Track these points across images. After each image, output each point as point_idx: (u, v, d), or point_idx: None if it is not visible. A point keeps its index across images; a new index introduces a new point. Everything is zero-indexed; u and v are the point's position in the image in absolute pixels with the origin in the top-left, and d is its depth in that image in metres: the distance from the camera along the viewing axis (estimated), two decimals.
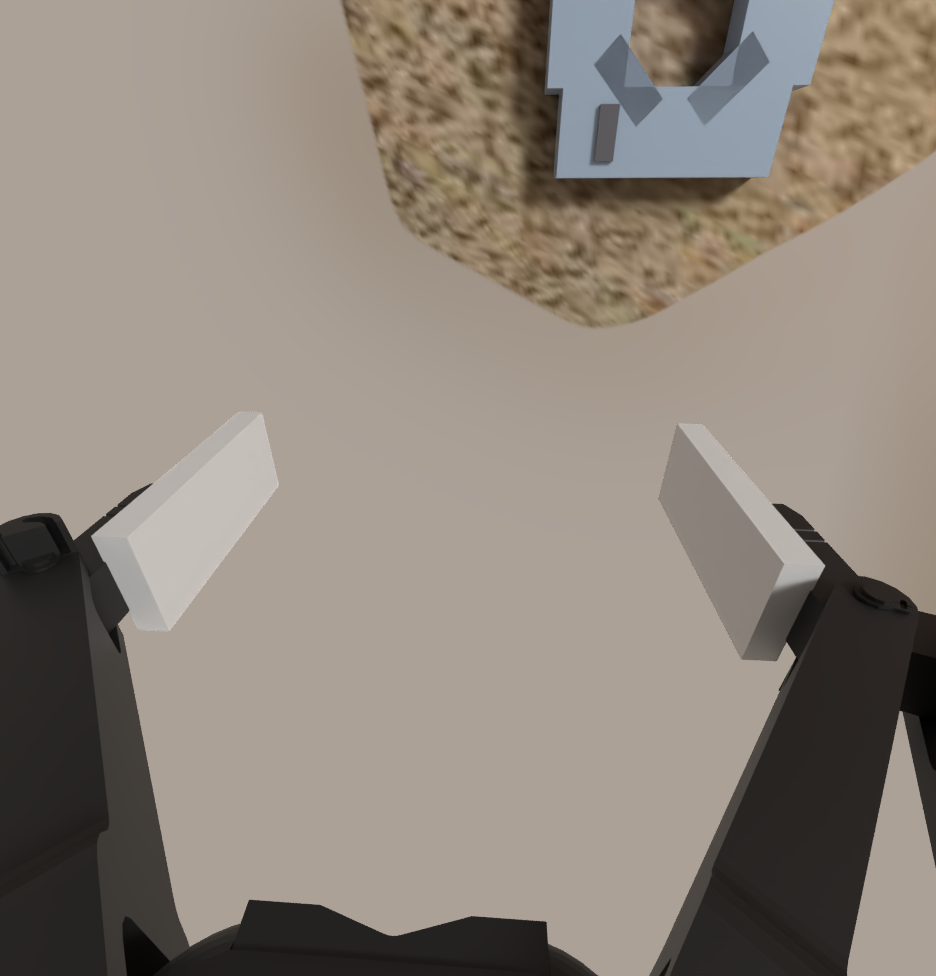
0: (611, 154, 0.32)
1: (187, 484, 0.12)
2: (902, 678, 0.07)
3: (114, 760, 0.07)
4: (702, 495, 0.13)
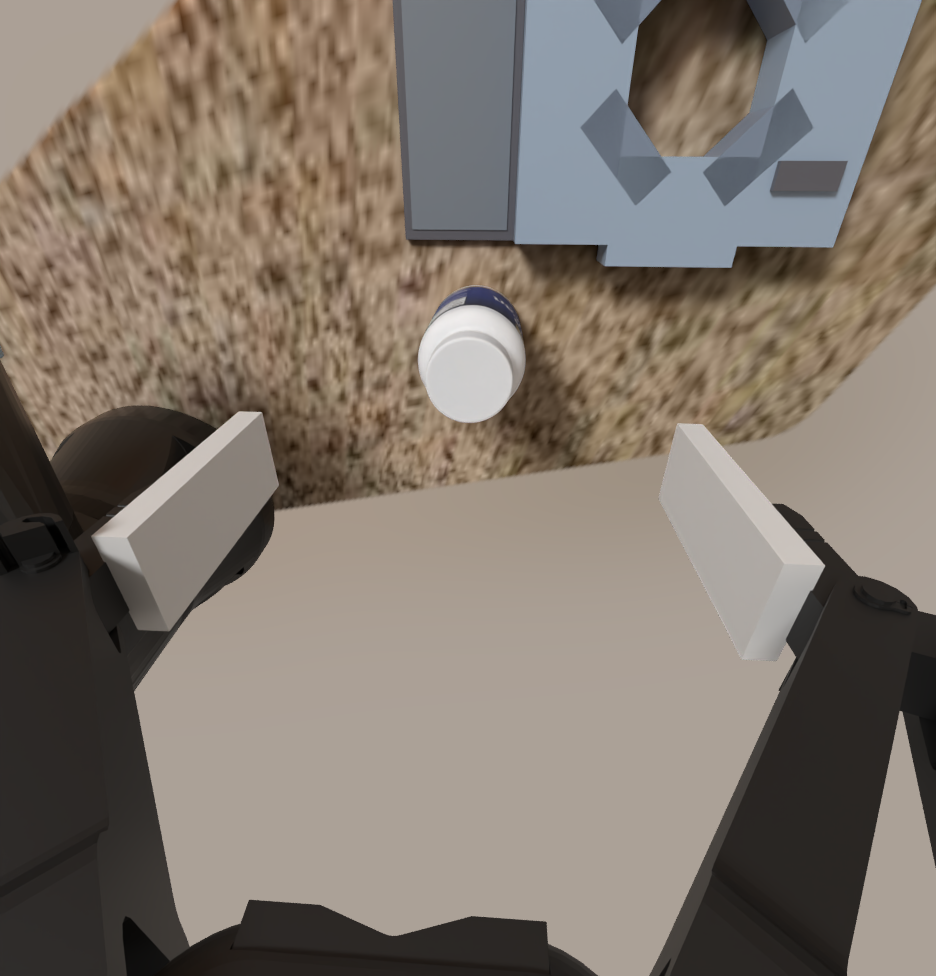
0: (838, 164, 0.22)
1: (187, 484, 0.12)
2: (902, 678, 0.07)
3: (114, 760, 0.07)
4: (702, 495, 0.13)
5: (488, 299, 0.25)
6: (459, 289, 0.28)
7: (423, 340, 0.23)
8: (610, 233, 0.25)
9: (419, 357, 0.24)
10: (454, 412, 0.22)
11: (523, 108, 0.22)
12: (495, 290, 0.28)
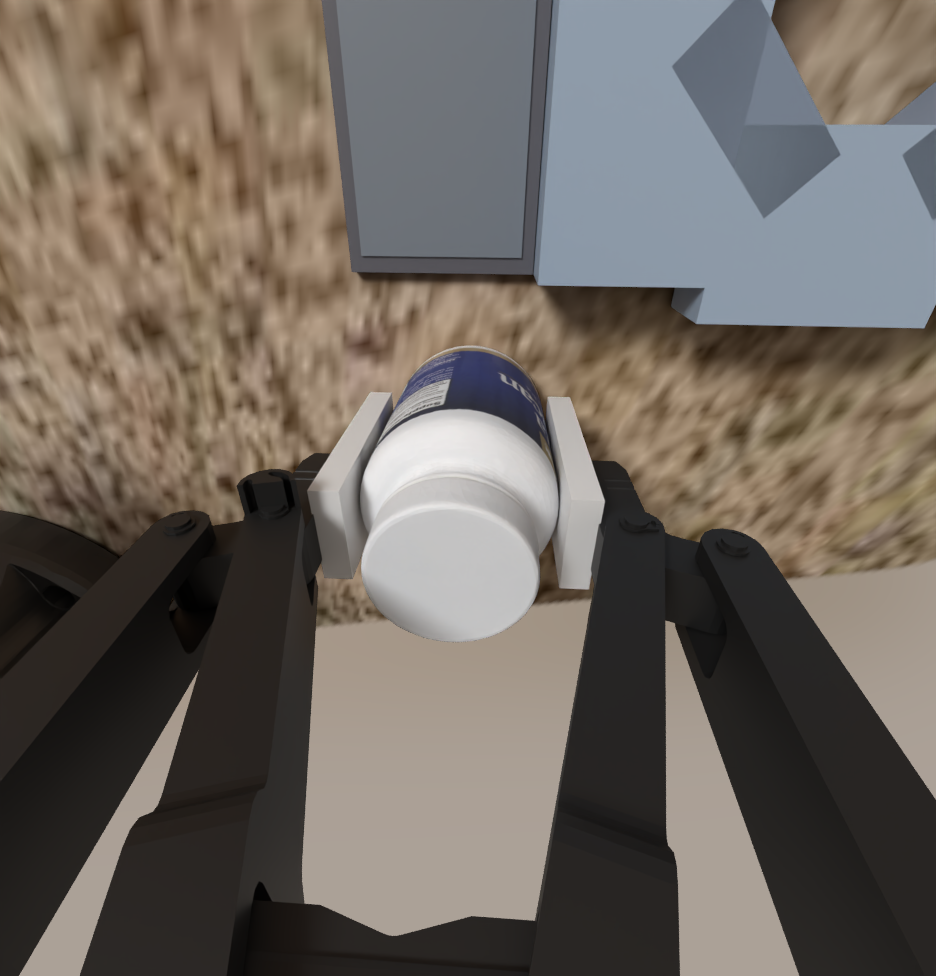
0: None
1: (361, 451, 0.13)
2: (662, 583, 0.09)
3: (285, 714, 0.07)
4: (552, 455, 0.15)
5: (490, 386, 0.14)
6: (442, 353, 0.17)
7: (367, 473, 0.12)
8: (712, 268, 0.14)
9: (361, 501, 0.13)
10: (423, 627, 0.11)
11: (560, 27, 0.11)
12: (502, 354, 0.17)
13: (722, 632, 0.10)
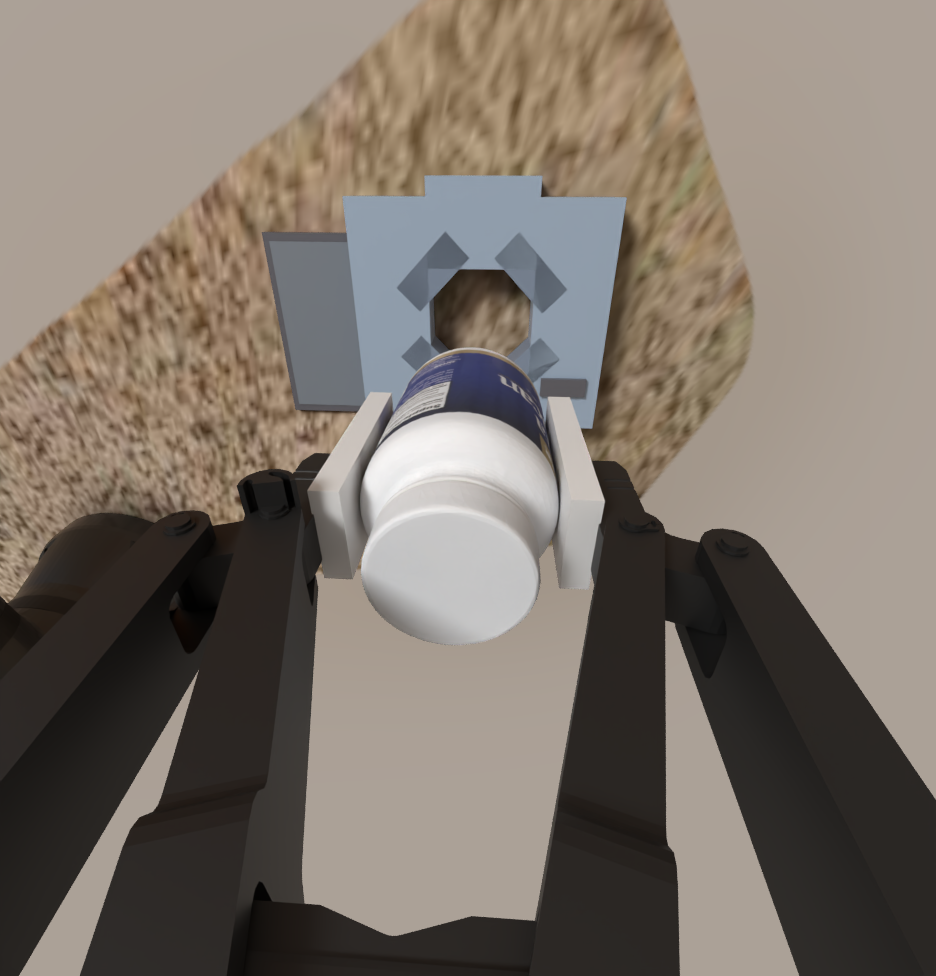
0: (580, 382, 0.32)
1: (362, 451, 0.13)
2: (662, 583, 0.09)
3: (285, 714, 0.07)
4: (552, 455, 0.15)
5: (490, 388, 0.14)
6: (442, 355, 0.17)
7: (367, 476, 0.12)
8: None
9: (361, 503, 0.13)
10: (423, 630, 0.11)
11: (360, 345, 0.32)
12: (502, 356, 0.17)
13: (722, 632, 0.10)
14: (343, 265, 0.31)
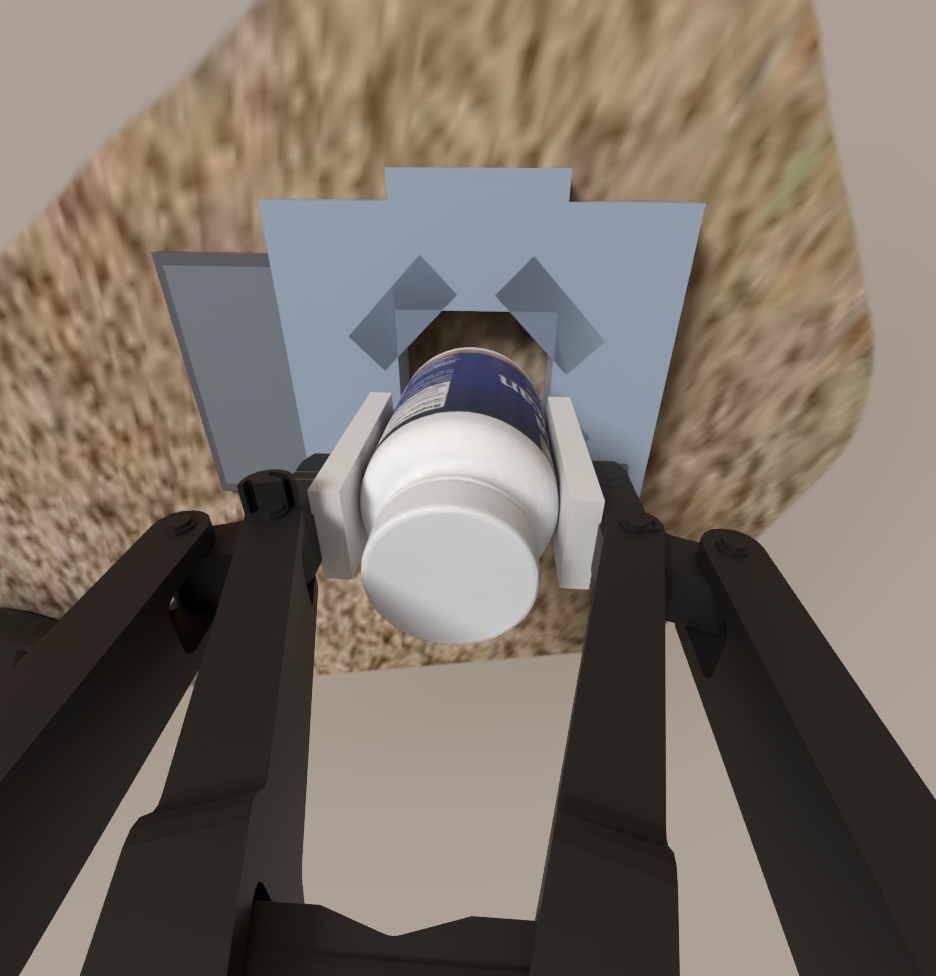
0: None
1: (361, 451, 0.13)
2: (662, 583, 0.09)
3: (285, 714, 0.07)
4: (552, 455, 0.15)
5: (490, 388, 0.14)
6: (442, 355, 0.17)
7: (367, 475, 0.12)
8: None
9: (361, 503, 0.13)
10: (423, 629, 0.11)
11: (300, 415, 0.22)
12: (502, 356, 0.17)
13: (722, 632, 0.10)
14: (273, 300, 0.21)
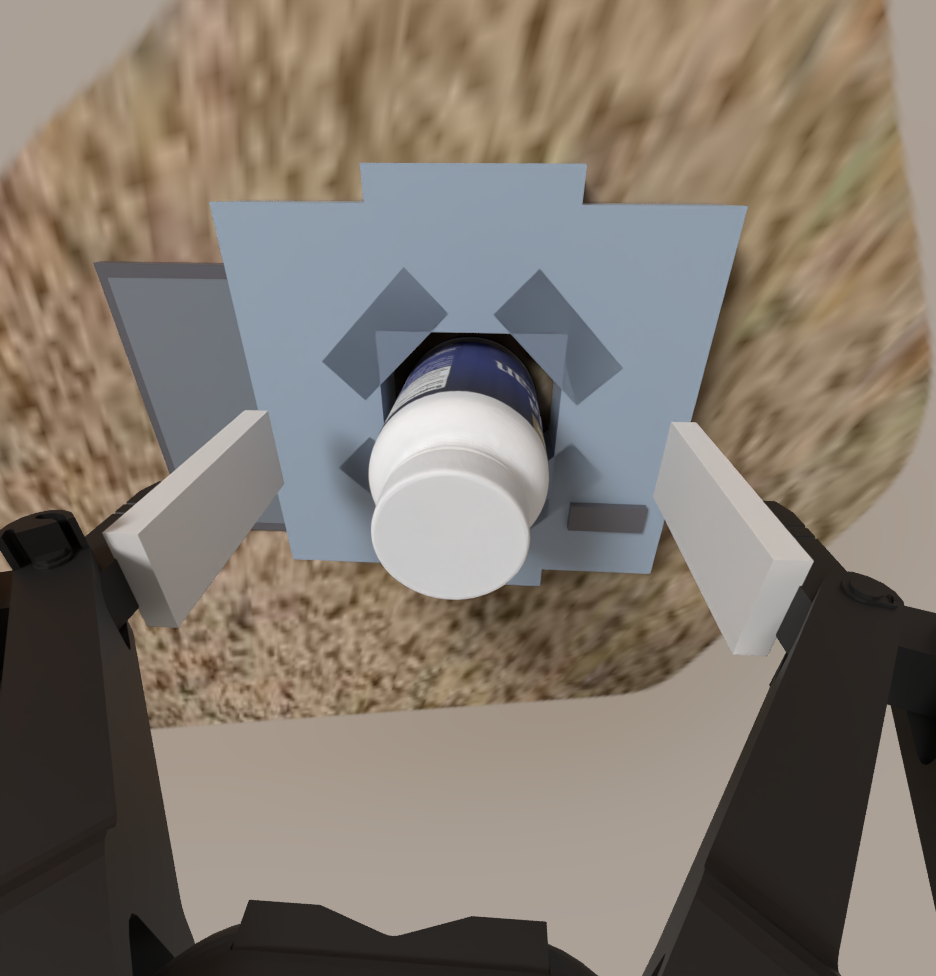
0: (637, 511, 0.19)
1: (196, 482, 0.12)
2: (889, 671, 0.07)
3: (122, 756, 0.07)
4: (695, 492, 0.13)
5: (487, 372, 0.15)
6: (444, 343, 0.18)
7: (375, 449, 0.14)
8: None
9: (369, 475, 0.14)
10: (426, 585, 0.13)
11: None
12: (499, 345, 0.18)
13: None
14: None
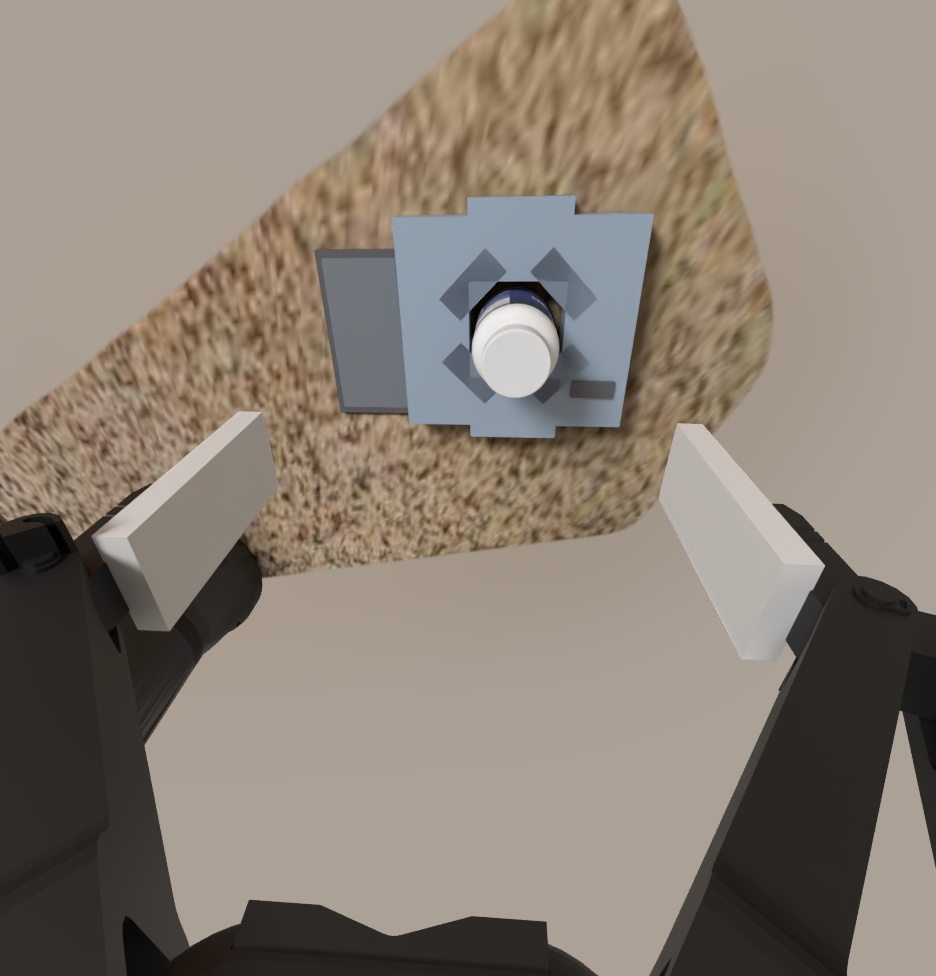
0: (609, 384, 0.35)
1: (187, 484, 0.12)
2: (902, 678, 0.07)
3: (114, 760, 0.07)
4: (702, 495, 0.13)
5: (528, 298, 0.30)
6: (501, 290, 0.34)
7: (477, 332, 0.29)
8: (471, 418, 0.37)
9: (473, 346, 0.29)
10: (504, 390, 0.28)
11: (404, 352, 0.35)
12: None
13: None
14: (388, 278, 0.34)
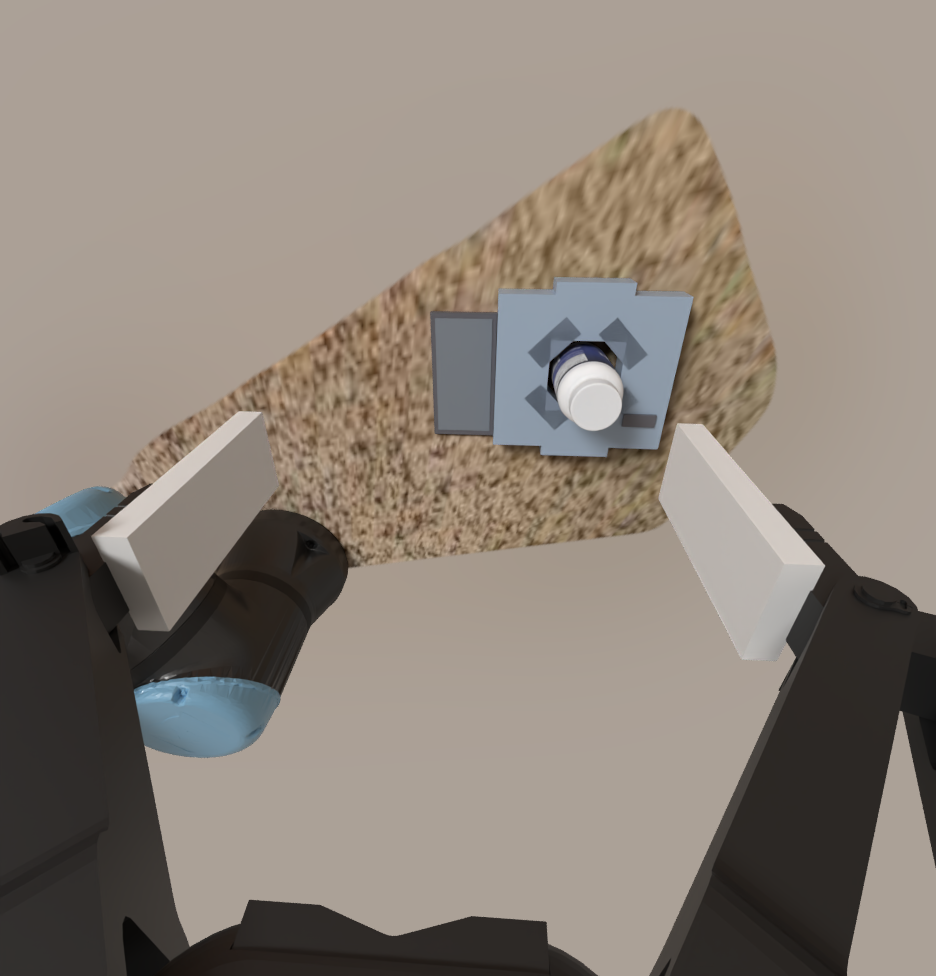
0: (652, 417, 0.45)
1: (187, 484, 0.12)
2: (902, 678, 0.07)
3: (114, 760, 0.07)
4: (703, 495, 0.13)
5: (598, 355, 0.41)
6: (572, 345, 0.44)
7: (564, 381, 0.39)
8: (542, 441, 0.47)
9: (560, 391, 0.40)
10: (585, 425, 0.39)
11: (495, 390, 0.45)
12: None
13: None
14: (485, 334, 0.44)
